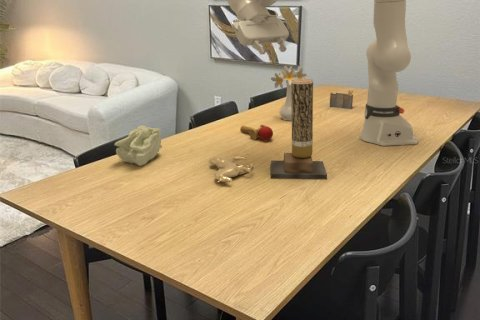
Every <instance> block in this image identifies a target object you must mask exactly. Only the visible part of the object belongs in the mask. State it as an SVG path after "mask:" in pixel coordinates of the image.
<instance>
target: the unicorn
mask: <svg viewBox="0 0 480 320" xmlns="http://www.w3.org/2000/svg"><path fill="white" fill-rule="evenodd" d="M246 160H247V158H246V157H244V156H228V157H226V156H225V157H223V158H218V157H217V158H216V157H214V156H212V157H211V158H209V160H208V163H209V164H210V165H212V166H215V167H217V169H218V170H216V171H214V173H213V175H214V177H215V179H216V180H217V183H221V182H222V183H231V182H233V178H235V177H239V175H244V174H246V173H252V171H253V170H254V168H255V167H254V165H253V164H252V163H249V165H248V164H247V165H245V164H244V165H243V164H240V163H238V162H235V161H246Z"/></svg>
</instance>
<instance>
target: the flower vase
mask: <svg viewBox="0 0 480 320" xmlns="http://www.w3.org/2000/svg"><path fill="white" fill-rule="evenodd" d="M274 76H275V77H274ZM274 76H273V77H270V79H271V81H272V82H275V83H274V88H275V89H277V88H280V89H283V88H284V85H283V82H284V81H285V83H286V98H285V102H284V104H283V106H282V107H281V108H280V109H279V115H280V116H281V117H282V120H283V121H292V102H291V82H292V80H295V79H306V78H307V76H308V75H307V73H304V72H303V68H302V67H300V66H299V65H297V70H296V69H295V68H293V65H292V66H290V67H289V68H288V66H287V65H284V66H283V70H280V72H279V73H277V72H275V73H274Z"/></svg>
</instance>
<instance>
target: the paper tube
mask: <svg viewBox="0 0 480 320" xmlns="http://www.w3.org/2000/svg"><path fill="white" fill-rule="evenodd" d="M291 102H292V120H291V153H292V155H293V156H294V157H297V158H307V157H310V156H311V157H312V156H313V144H314V143H313V139H314V138H313V137H314V135H313V133H314V132H313V131H314V129H313V127H314V124H313V123H314V122H313V121H314V120H313V119H314V113H313V112H314V79H311V78H305V79H304V78H302V79H295V80H292V82H291Z"/></svg>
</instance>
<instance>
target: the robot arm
mask: <svg viewBox="0 0 480 320" xmlns="http://www.w3.org/2000/svg"><path fill="white" fill-rule="evenodd" d="M226 1H227V4H228V5H229V7H230V8H231V11H233V12H234V14H235V15H236V18H237V19H233V21H231V26H232V27H233V29H234V34H235V36H236V38H237V40H238V42H239V44H240V45H242V46H243V47H247V46H251V47H252V48H253V49H254V50H256V51H258V54H259V55H265V54H266V52H267V49H266V47H265V46H262V45H266V44H267V45H268V44H275V43H277V44H278V45H279V47H278V51H279V52H280V53H285V52H286V51H287V46H286V44H285V42H286V40H288V38H289V37H290V32H289V30H288V28H287V27H286V25H285V24H284V22H283V20H282V19H280V18H279V14H278V12H277V11H276V10H272V9H270V8H268V7H271V6H272V5H274V4H275V3H276V2H277V1H278V0H226ZM373 5H374V7H373V20H372V21H373V23H372V25H373V28H374V30H375V31H374V32H375V37H376V40H374V41H372V42H371V43H369V44H368V46H367V49H366V58H367V59H366V60H367V75H368V91H367V102H366V103H365V108H364V122H363V125H362V129H361V133H360V135H359V139H361V140H362V141H365V142H367V143H371V144H376V145H379V146H383V147H385V146H386V147H387V146H403V145H404V146H407V145H417V144H418V143H419V138H418V137H417V136H416V135H415V134H414V130H413V126H412V124H411V123H410V122H409V121H407V119H405V118H404V117H403V116H402V114H404V113H405V109H404V108H403V107H400V106H399V105H397V101H398V93H399V83H398V78H397V73H399V72H403V71H404V70H405V69H406V68H407V67H408V66H409V64H410V63H411V59H412V55H411V51H410V50H409V49H410V48H409V46H408V37H407V31H406V11H407V10H406V9H407V0H374V1H373Z"/></svg>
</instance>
